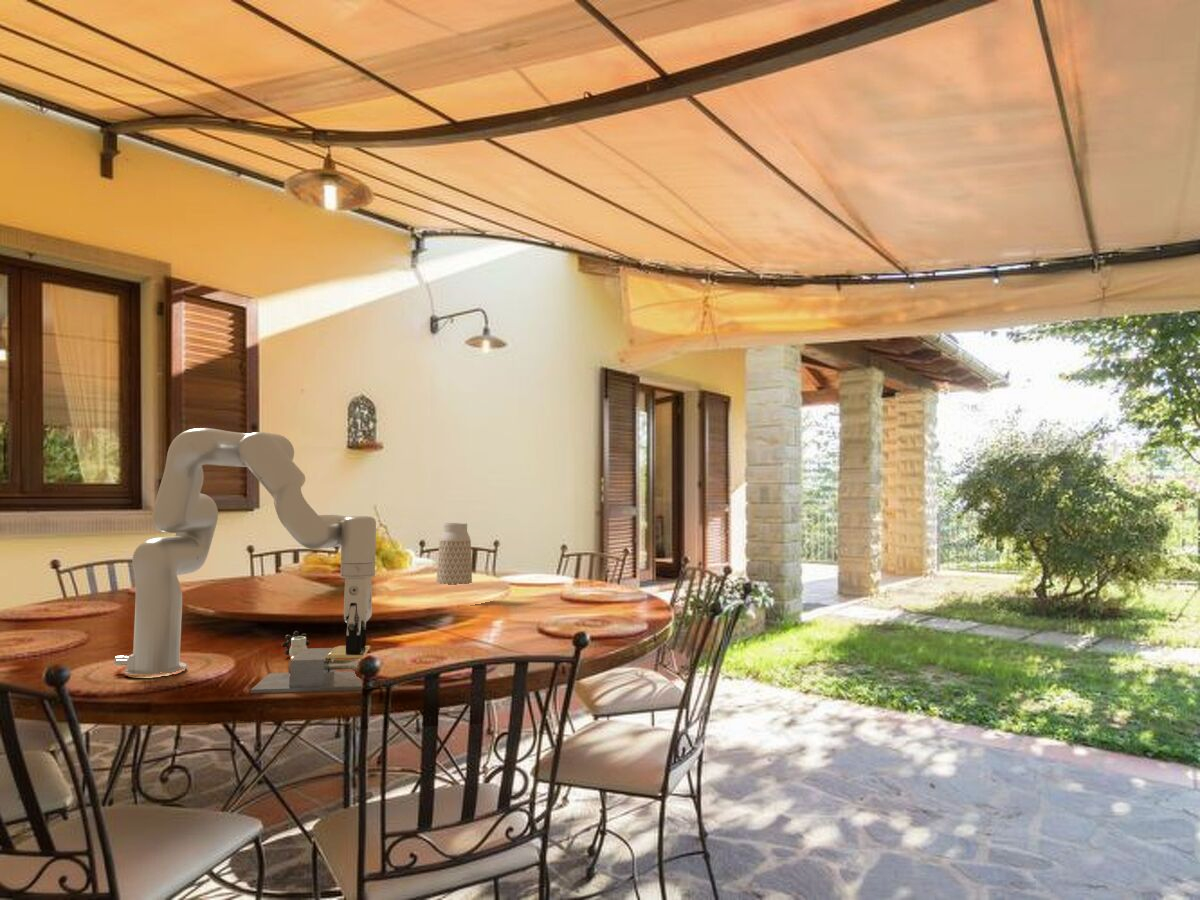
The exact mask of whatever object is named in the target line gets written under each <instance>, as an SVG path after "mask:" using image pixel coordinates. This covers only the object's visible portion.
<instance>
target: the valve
mask: <svg viewBox="0 0 1200 900" xmlns="http://www.w3.org/2000/svg"><path fill="white" fill-rule="evenodd" d="M285 640H287V641H285V642H283V643H281V647H282V648H286V650H285V651H284V653H285V655H287V656H289V657H291V656H295V655H297V654H298V653H299V652H300V651H301V650H302V649H308V646H310V641H309V640H307V634H306V633H302V634H301V635H299V631H297V630H295V631H294V632H293V635H292V636H291V635H290V634H286V635H285Z"/></svg>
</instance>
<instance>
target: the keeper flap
mask: <svg viewBox="0 0 1200 900" xmlns="http://www.w3.org/2000/svg"><path fill="white" fill-rule="evenodd" d="M333 648H334V649H333V650H332V651H331V652H330V653H329V654H328V655H327V656H326V660H329V659H330V658H335V659H363V658H364V657H365V656H366V654H367V653H368V652H369V650H370V648H371V645H366V646H365V647H361V653H360V654H346V645H338V646H334V647H333Z"/></svg>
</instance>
